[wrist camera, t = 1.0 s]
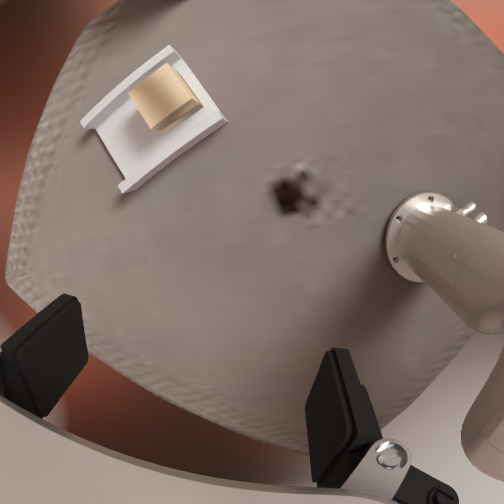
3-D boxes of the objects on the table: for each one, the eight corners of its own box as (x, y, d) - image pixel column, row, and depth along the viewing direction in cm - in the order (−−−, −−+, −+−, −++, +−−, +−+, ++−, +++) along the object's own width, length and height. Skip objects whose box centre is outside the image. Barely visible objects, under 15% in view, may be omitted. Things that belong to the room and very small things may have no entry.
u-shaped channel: (178, 54, 31) (169, 44, 28) (227, 122, 34) (222, 118, 30) (95, 123, 35) (80, 121, 31) (135, 189, 37) (122, 193, 34)
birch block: (181, 74, 31) (166, 62, 26) (203, 106, 33) (191, 98, 27) (146, 100, 33) (127, 93, 28) (167, 132, 34) (150, 129, 29)
